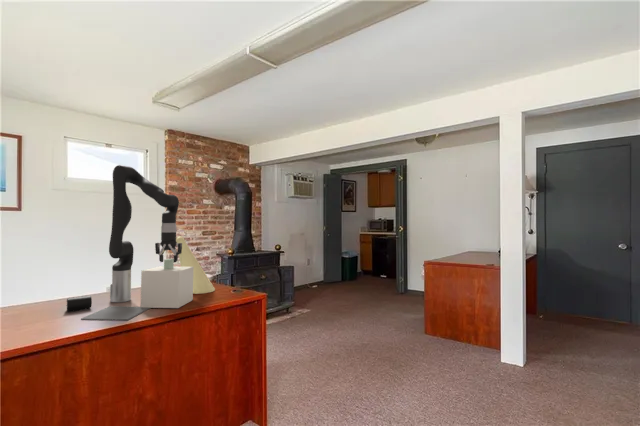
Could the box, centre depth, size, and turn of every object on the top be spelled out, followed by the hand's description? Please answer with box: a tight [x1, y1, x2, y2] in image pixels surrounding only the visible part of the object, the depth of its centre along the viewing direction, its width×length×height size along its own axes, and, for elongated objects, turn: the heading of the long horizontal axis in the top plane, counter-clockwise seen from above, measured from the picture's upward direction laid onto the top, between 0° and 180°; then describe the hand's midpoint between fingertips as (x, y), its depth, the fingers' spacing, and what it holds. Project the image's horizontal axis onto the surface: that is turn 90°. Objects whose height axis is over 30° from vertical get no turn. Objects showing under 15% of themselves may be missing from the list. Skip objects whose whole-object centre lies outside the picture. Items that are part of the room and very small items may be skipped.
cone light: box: [176, 236, 216, 295], centre depth 223 cm, size 25×18×35 cm
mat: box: [80, 305, 151, 322], centre depth 172 cm, size 22×22×1 cm
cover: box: [139, 258, 194, 309], centre depth 191 cm, size 20×20×24 cm
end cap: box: [66, 295, 93, 313], centre depth 177 cm, size 10×7×7 cm
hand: (168, 262), depth 191 cm, fingers open, 6 cm apart
